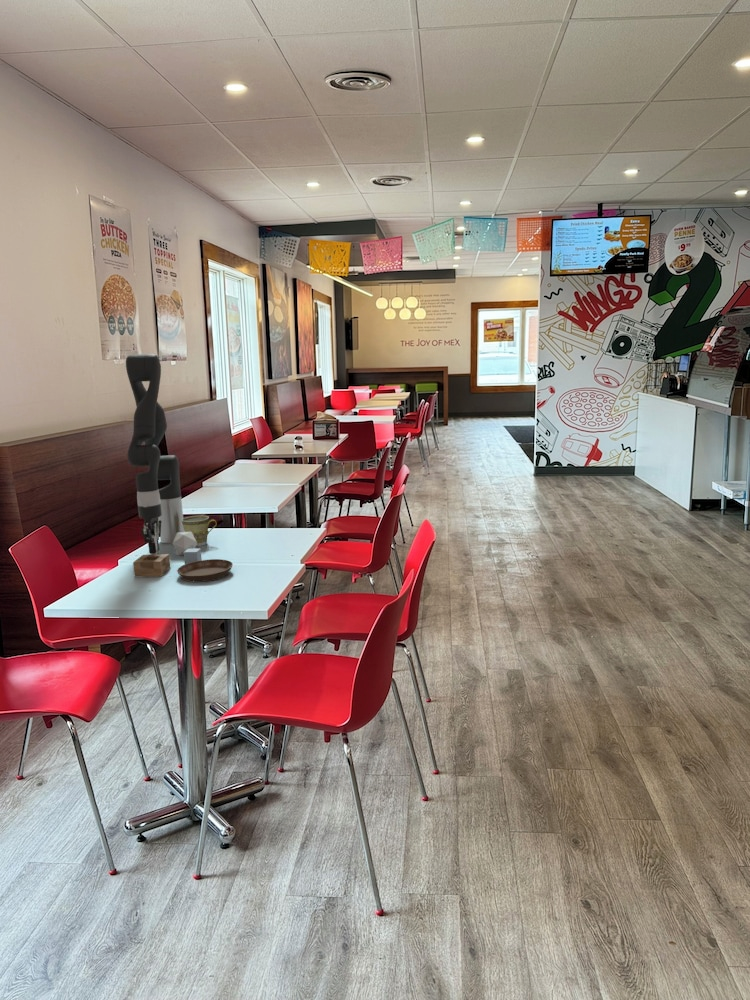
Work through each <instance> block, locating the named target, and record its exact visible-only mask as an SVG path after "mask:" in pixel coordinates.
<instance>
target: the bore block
mask: <svg viewBox="0 0 750 1000" xmlns="http://www.w3.org/2000/svg"><path fill="white" fill-rule="evenodd" d="M132 564H133V565H132V568H133V574H134V578H150V577H151V578H153V577H163V576H164V575H166V573H168V571H170V569H171V568H172V567H171V560H170V554H169V553H161V554H159V553H158V554H152V555H151V554H142V555H141V556H139V557H138V558H137V559H136V560H134V561H133V562H132Z"/></svg>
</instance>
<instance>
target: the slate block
mask: <svg viewBox="0 0 750 1000" xmlns="http://www.w3.org/2000/svg"><path fill="white" fill-rule="evenodd" d="M183 560H184V565H186V564H188V563H192V562H196V561H201V560H203V559H202V549H201V548H197V547H195V549H187V550H186V551H185V552H184V555H183Z"/></svg>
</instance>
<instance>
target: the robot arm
mask: <svg viewBox="0 0 750 1000" xmlns="http://www.w3.org/2000/svg"><path fill="white" fill-rule="evenodd" d="M160 360H161V359H160V357H158V355H157V354H155V353H147V354H145V353H143V354H141V353H140V354H130V355H128V356H127V357H126V360H125V368H126V373H127V374H126V375H127V378H128V381H129V384H130V387H131V390H132V394H133V397H134V400H135V402H134V403H135V404H136V408H135V412H134V414H133V432H132V433H133V434H132V438H131V441H130V444H129V447H128V449H127V460H128V461H127V462H128V463H129V464H130V466H133V467H148V470H147V471H144V472H140V473H137V474H136V476H135V485H136V500H137V501H136V502H137V509H138V518H140V519H143V521H144V523H143V528H141V530H140V531H141V534H142V537H143V540H144V543H147V544H148V553H149V555H151V554H155V553H156V545H155V536H156V537H157V547H158V552H159V550H160V547H159V546H160V545H159V540H160V543H161V544H173V541H174V539H175V536H176V534H177V533H179V532H185V531H184V528H183V524H182V519H183V518H184V512H183V510H184V509H183V502H182V501H183V500H182V493H181V492H182V491H181V481H180V480H181V479H180V478H181V477H180V463H179V458H178V456H177V455H174V454H170V455H161V450H160V448H159V445H160V443H161V441H162V439H163V437H164V436H165V433H166V431H167V428H168V423H167V418H166V415H165V410H164V408H163V407H162V405H160V403H159V402H158V398H159V393H160V392H159V390H160V383H161V377H162V376H161V375H162V365H161V361H160ZM143 382H149V383H148V388H146V387H145V386H144V384H143ZM143 443H144V444H143ZM158 481H170V482H169V484H167V485H165V486H164V487H162V488H159V482H158ZM151 533H153V534H151ZM149 538H150V539H149Z"/></svg>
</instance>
